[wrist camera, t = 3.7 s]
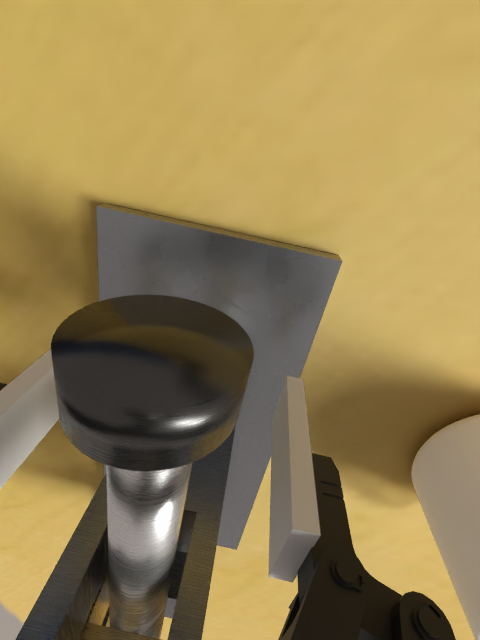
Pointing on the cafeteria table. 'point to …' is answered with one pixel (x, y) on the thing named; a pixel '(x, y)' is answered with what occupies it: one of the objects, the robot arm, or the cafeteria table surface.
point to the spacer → (94, 634)
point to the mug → (454, 506)
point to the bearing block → (254, 417)
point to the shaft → (147, 425)
